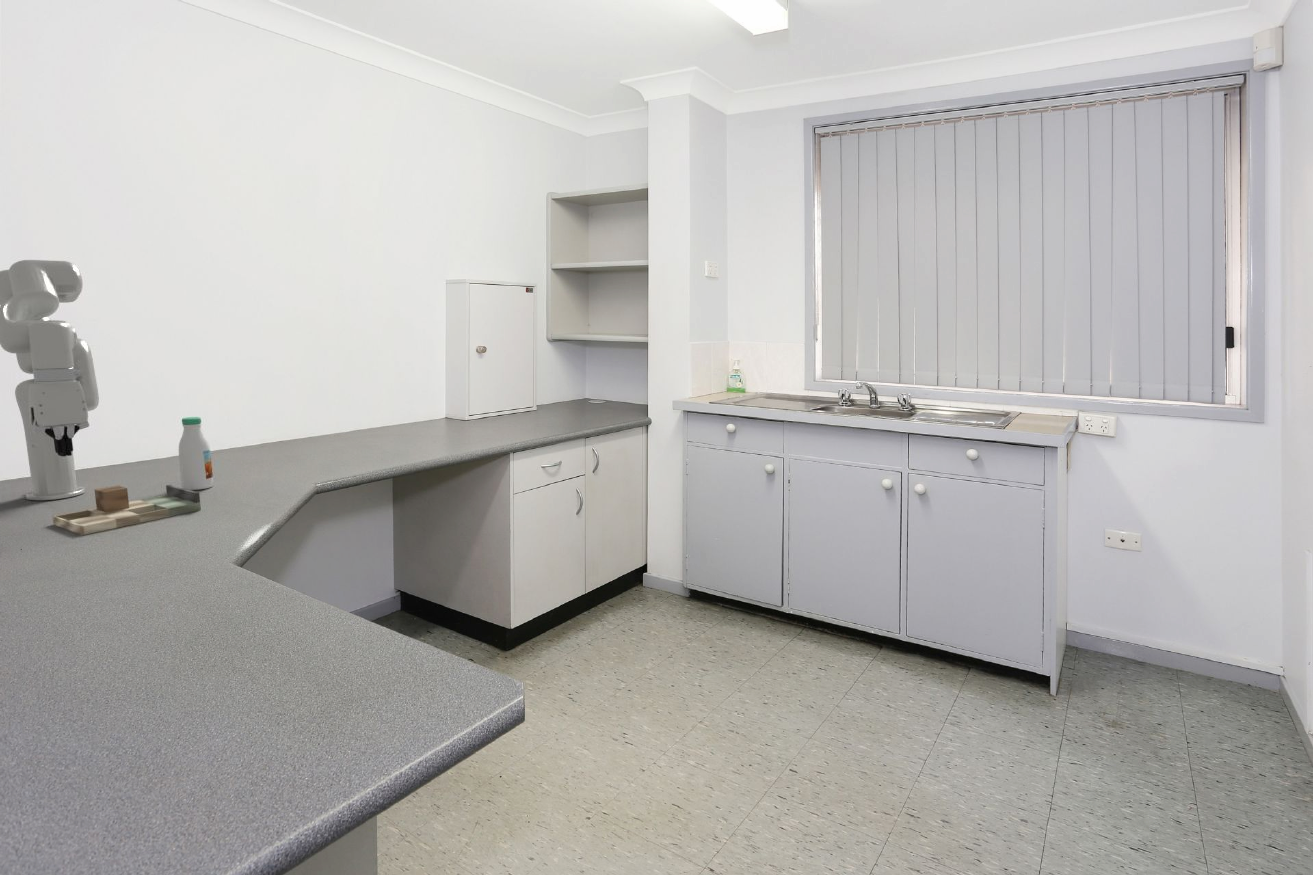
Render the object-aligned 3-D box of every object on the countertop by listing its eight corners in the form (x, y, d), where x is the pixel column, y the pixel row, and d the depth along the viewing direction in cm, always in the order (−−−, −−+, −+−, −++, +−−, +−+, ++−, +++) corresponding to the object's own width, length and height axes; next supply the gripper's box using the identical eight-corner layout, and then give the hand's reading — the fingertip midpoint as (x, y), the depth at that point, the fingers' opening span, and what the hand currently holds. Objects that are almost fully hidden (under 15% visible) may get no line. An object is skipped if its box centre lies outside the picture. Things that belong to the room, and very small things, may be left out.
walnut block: (96, 509, 188) (94, 489, 187) (119, 504, 192) (117, 485, 191) (106, 512, 185) (103, 492, 184) (129, 507, 189) (127, 488, 188)
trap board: (53, 524, 182) (51, 505, 181) (170, 501, 203) (169, 484, 203) (81, 535, 174) (79, 515, 173) (200, 509, 195) (199, 492, 195)
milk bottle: (199, 491, 214) (192, 420, 211) (175, 490, 216) (168, 419, 212) (220, 485, 222) (213, 416, 218) (196, 483, 223) (190, 415, 220)
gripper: (85, 373, 184) (94, 449, 187) (7, 378, 172) (18, 459, 174) (99, 374, 180) (108, 452, 183) (21, 379, 168) (32, 462, 170)
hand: (64, 455), depth 179 cm, fingers closed
